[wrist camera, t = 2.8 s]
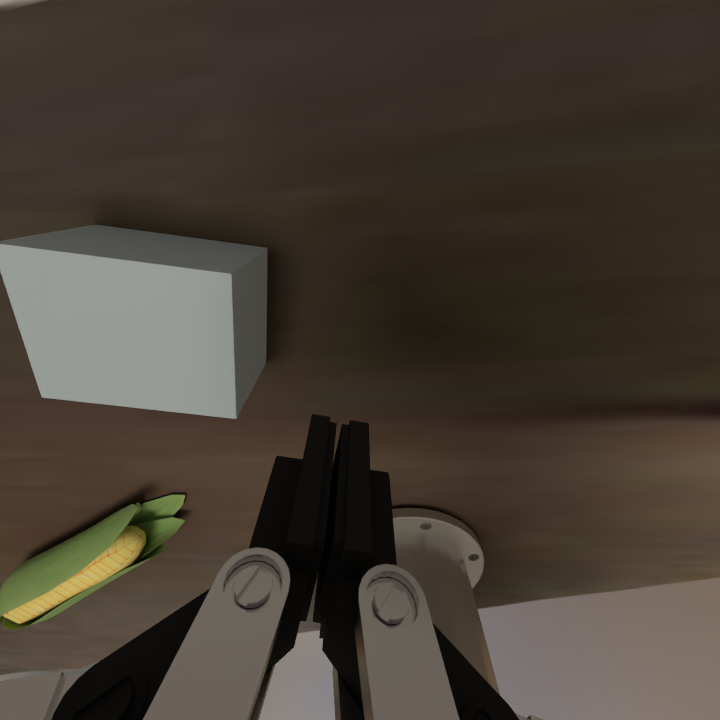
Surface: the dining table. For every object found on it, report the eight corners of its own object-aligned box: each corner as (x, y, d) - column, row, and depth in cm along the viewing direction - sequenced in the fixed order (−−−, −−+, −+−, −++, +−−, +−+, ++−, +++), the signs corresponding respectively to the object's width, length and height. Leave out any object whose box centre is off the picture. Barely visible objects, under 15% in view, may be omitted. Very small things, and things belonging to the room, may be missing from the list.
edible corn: (10, 562, 32) (-41, 618, 28) (162, 469, 27) (126, 521, 23) (61, 591, 34) (19, 647, 30) (211, 509, 29) (186, 564, 25)
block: (266, 361, 22) (236, 418, 17) (120, 343, 22) (41, 397, 17) (268, 247, 19) (231, 273, 14) (96, 224, 19) (-9, 242, 14)
